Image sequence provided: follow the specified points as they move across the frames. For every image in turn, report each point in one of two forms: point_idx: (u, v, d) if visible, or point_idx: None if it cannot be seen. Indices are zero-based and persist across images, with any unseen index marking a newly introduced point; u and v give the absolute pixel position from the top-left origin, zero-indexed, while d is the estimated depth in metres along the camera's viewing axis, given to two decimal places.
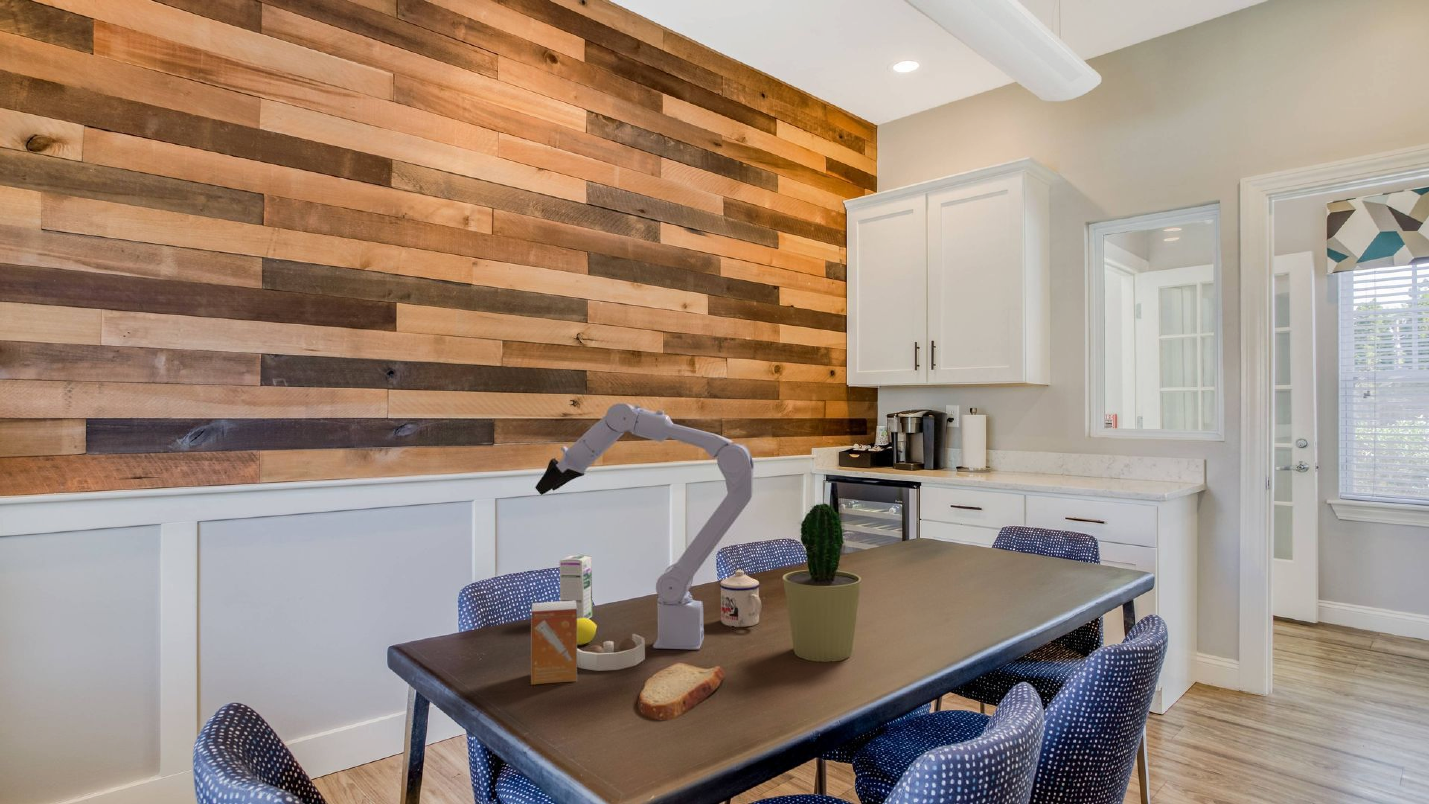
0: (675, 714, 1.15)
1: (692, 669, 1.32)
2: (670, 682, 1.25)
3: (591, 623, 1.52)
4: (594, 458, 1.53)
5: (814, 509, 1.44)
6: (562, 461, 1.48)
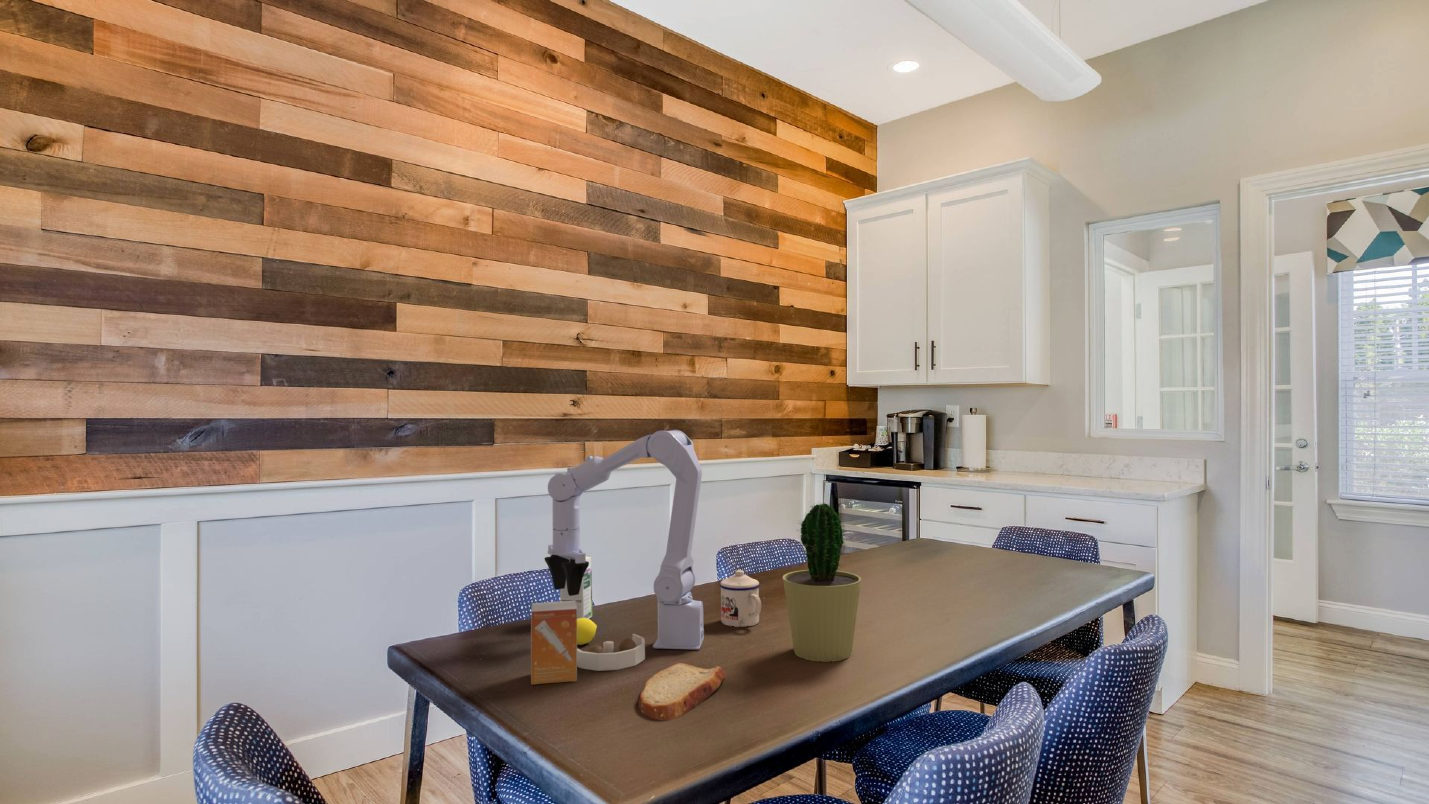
0: (676, 714, 1.15)
1: (693, 669, 1.31)
2: (670, 683, 1.25)
3: (591, 623, 1.52)
4: (579, 532, 1.59)
5: (814, 509, 1.44)
6: (578, 555, 1.52)
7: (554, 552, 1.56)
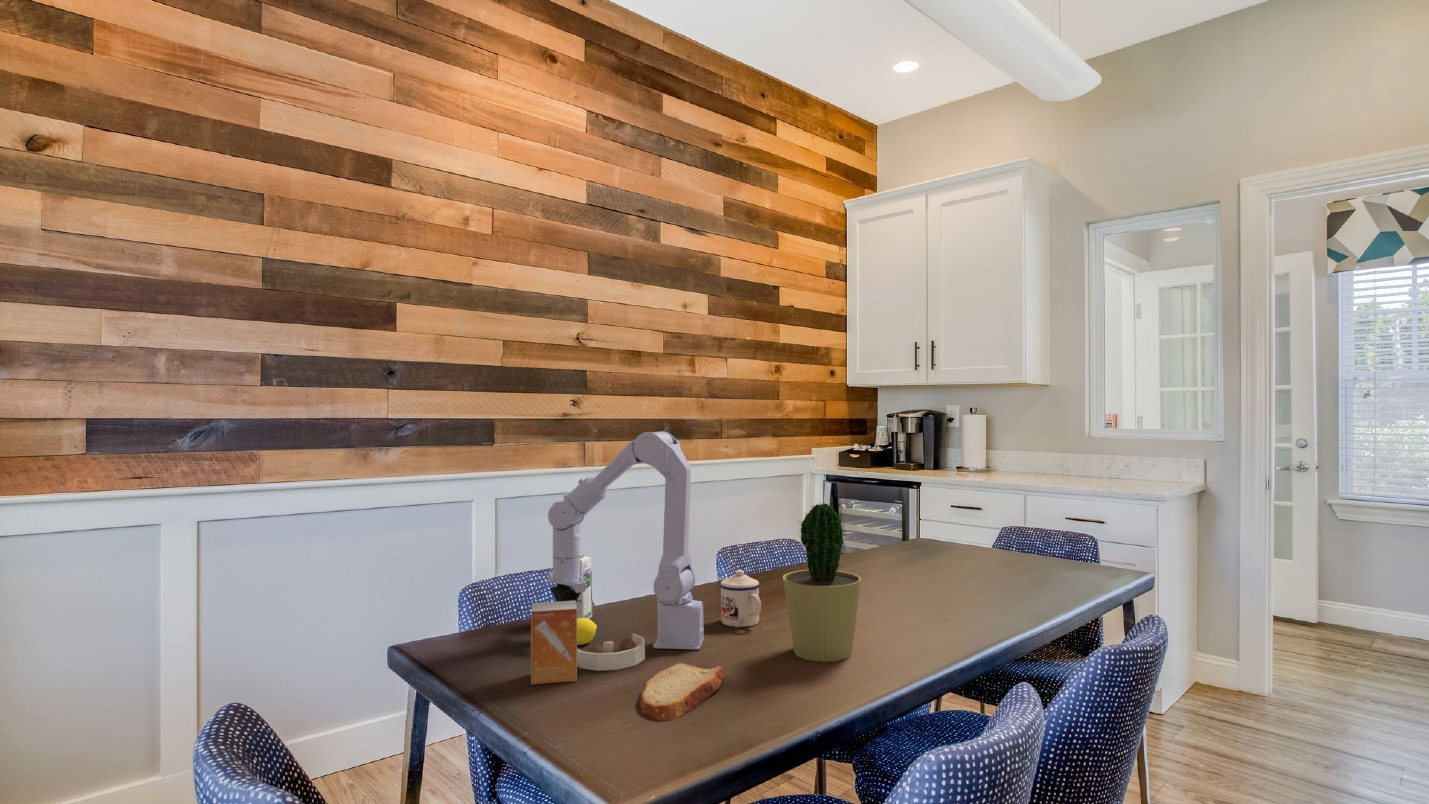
0: (677, 714, 1.15)
1: (693, 669, 1.31)
2: (671, 683, 1.25)
3: (591, 623, 1.52)
4: (579, 560, 1.59)
5: (814, 509, 1.44)
6: (578, 585, 1.52)
7: (554, 581, 1.56)
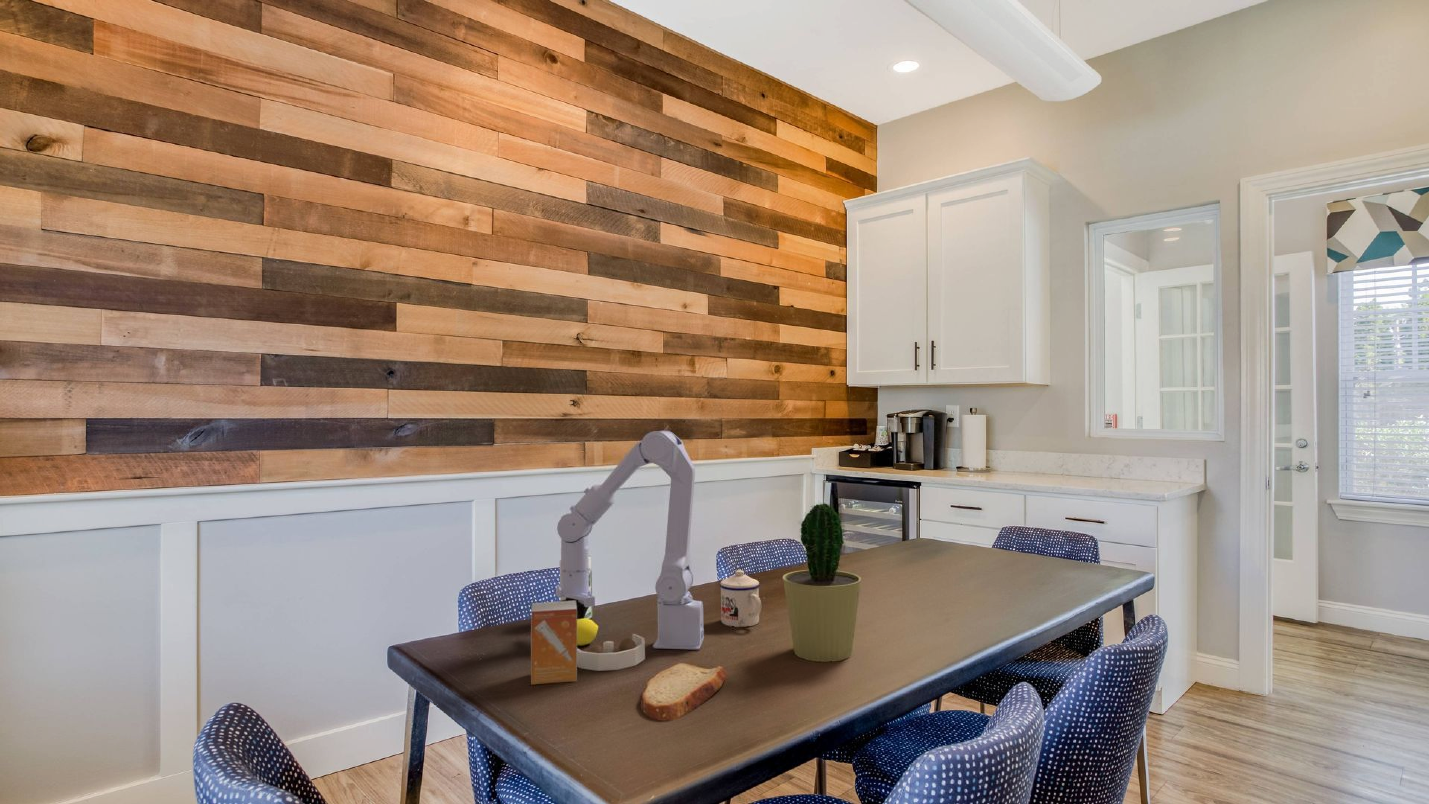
0: (678, 714, 1.14)
1: (694, 669, 1.31)
2: (672, 683, 1.25)
3: (592, 624, 1.52)
4: (588, 573, 1.56)
5: (814, 509, 1.44)
6: (587, 599, 1.49)
7: (562, 594, 1.52)
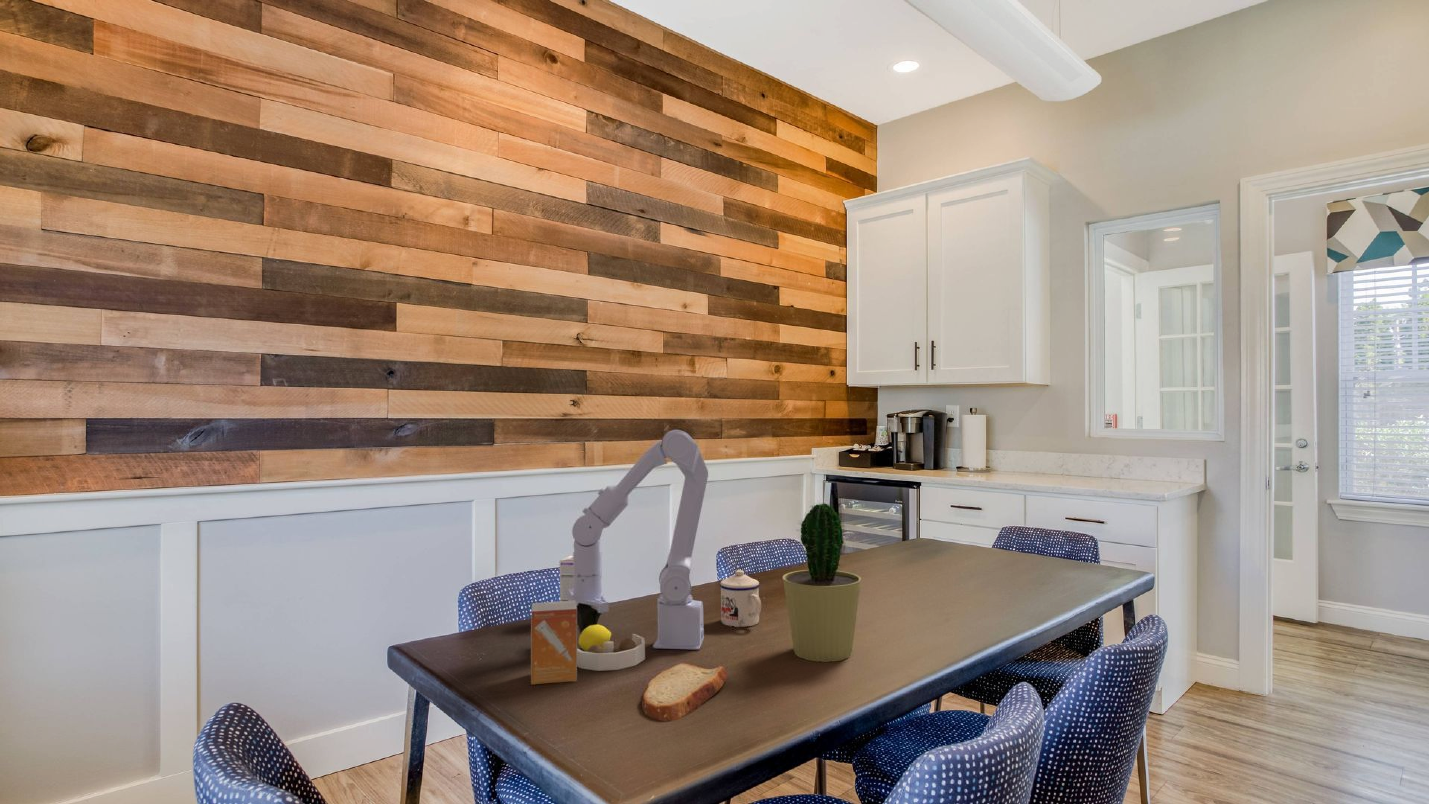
0: (680, 714, 1.14)
1: (695, 669, 1.31)
2: (673, 683, 1.25)
3: (605, 631, 1.47)
4: (601, 577, 1.51)
5: (814, 509, 1.44)
6: (601, 604, 1.44)
7: (575, 600, 1.48)
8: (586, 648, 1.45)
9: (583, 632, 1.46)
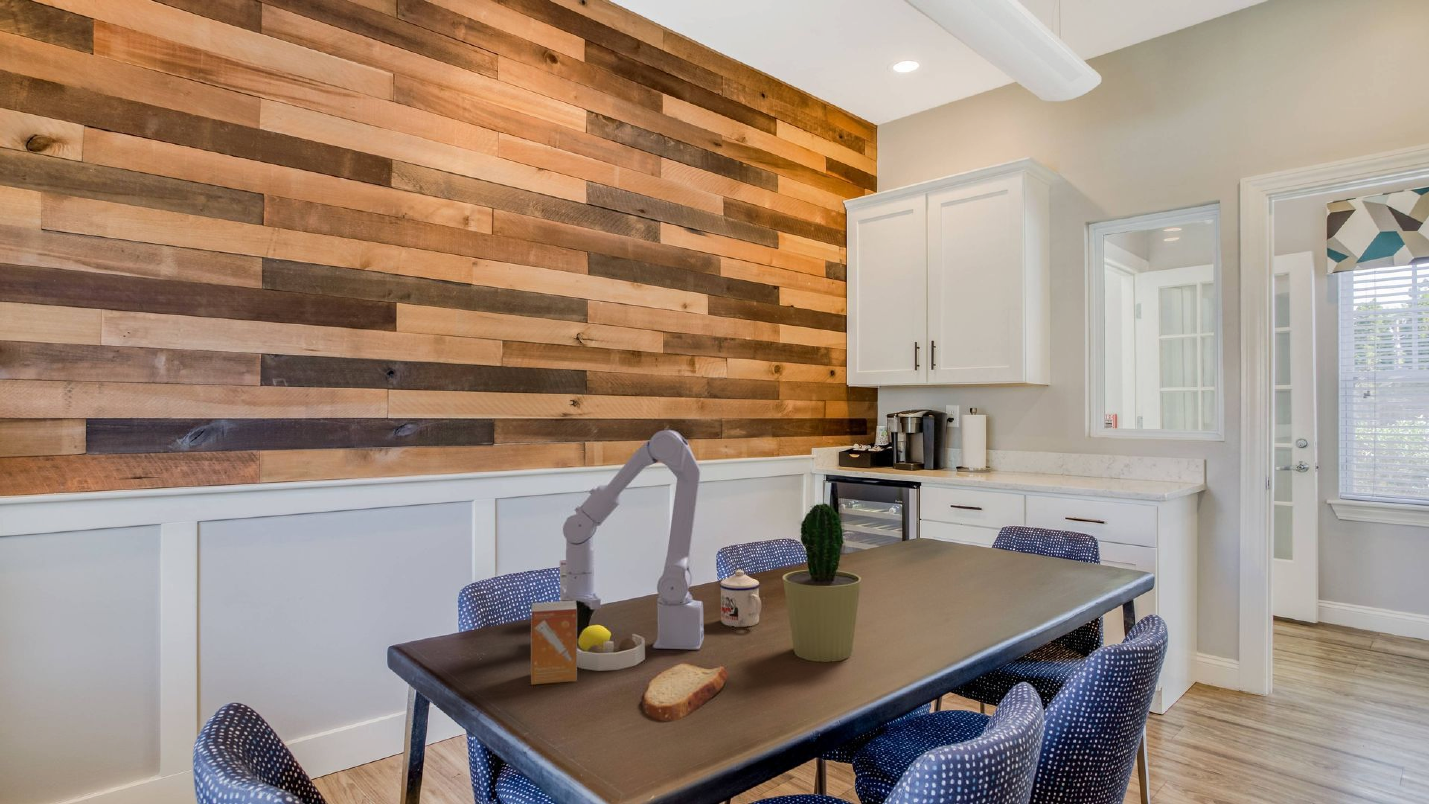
0: (681, 715, 1.14)
1: (695, 669, 1.31)
2: (674, 683, 1.25)
3: (605, 631, 1.47)
4: (593, 575, 1.54)
5: (814, 509, 1.44)
6: (593, 601, 1.47)
7: (568, 597, 1.50)
8: (586, 648, 1.45)
9: (582, 633, 1.46)
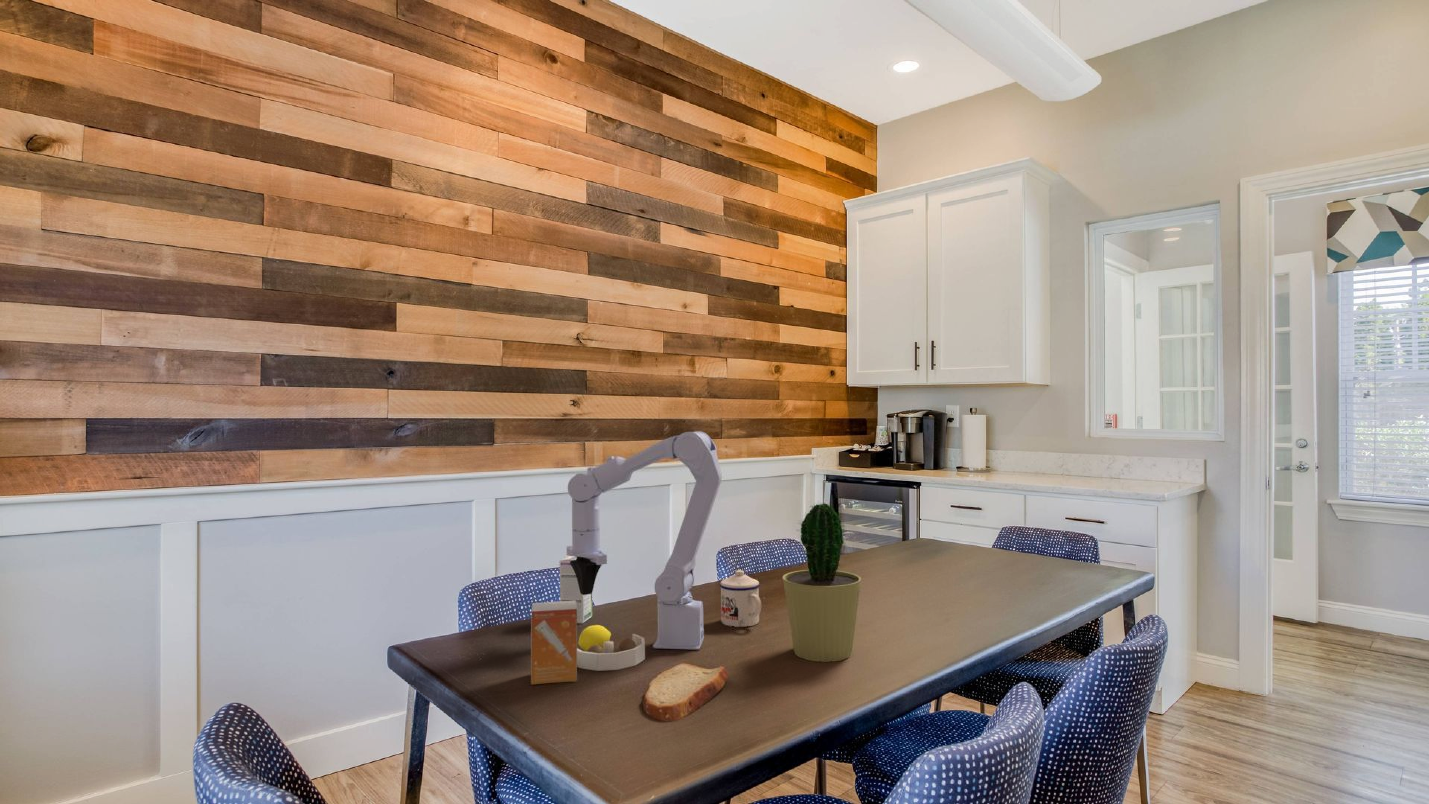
0: (682, 715, 1.14)
1: (696, 669, 1.31)
2: (674, 683, 1.25)
3: (605, 631, 1.47)
4: None
5: (814, 509, 1.44)
6: (599, 557, 1.50)
7: (574, 553, 1.53)
8: (586, 648, 1.45)
9: (582, 633, 1.46)
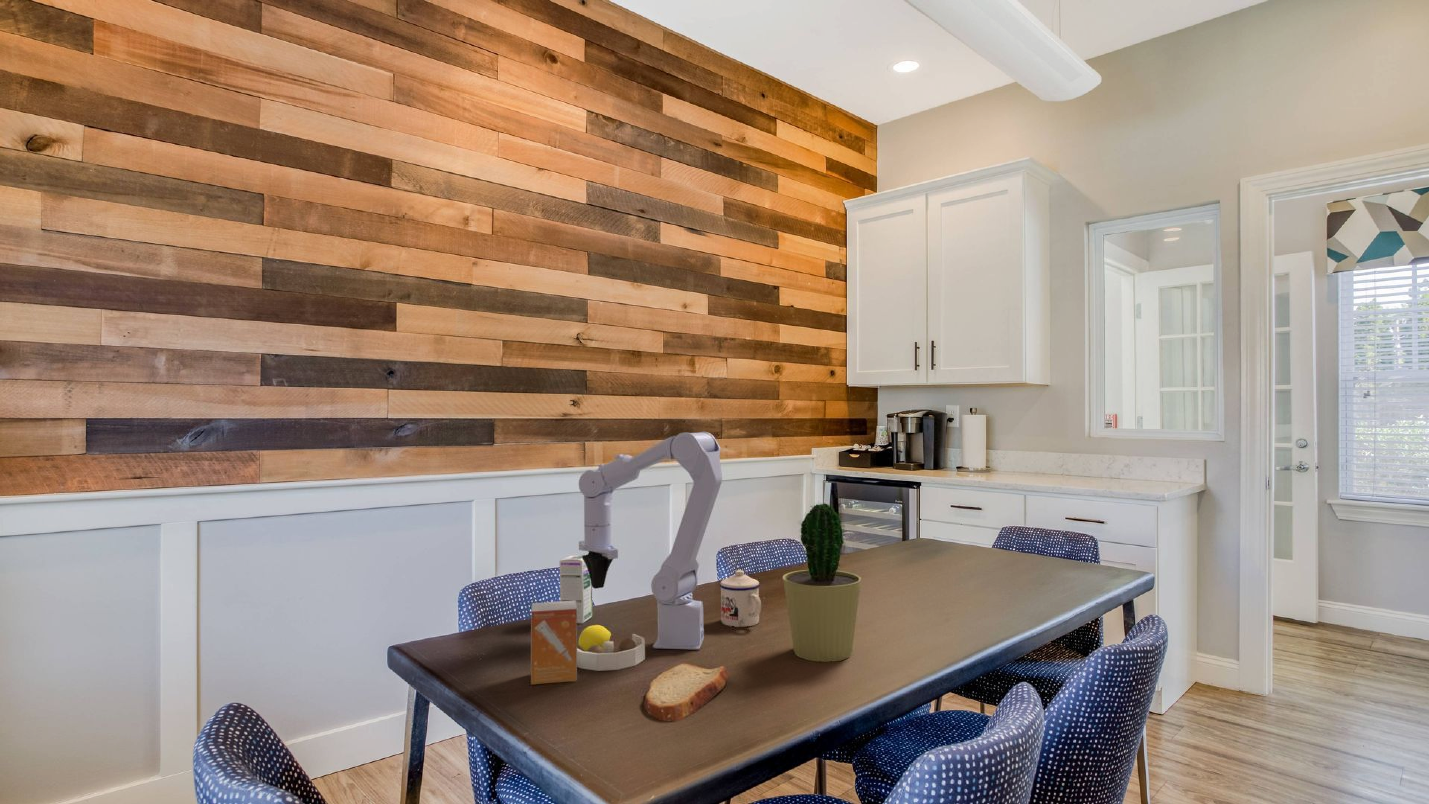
0: (683, 715, 1.14)
1: (696, 669, 1.31)
2: (675, 683, 1.25)
3: (605, 631, 1.47)
4: (610, 528, 1.61)
5: (814, 509, 1.44)
6: (611, 551, 1.54)
7: (586, 548, 1.58)
8: (586, 648, 1.45)
9: (582, 633, 1.46)
